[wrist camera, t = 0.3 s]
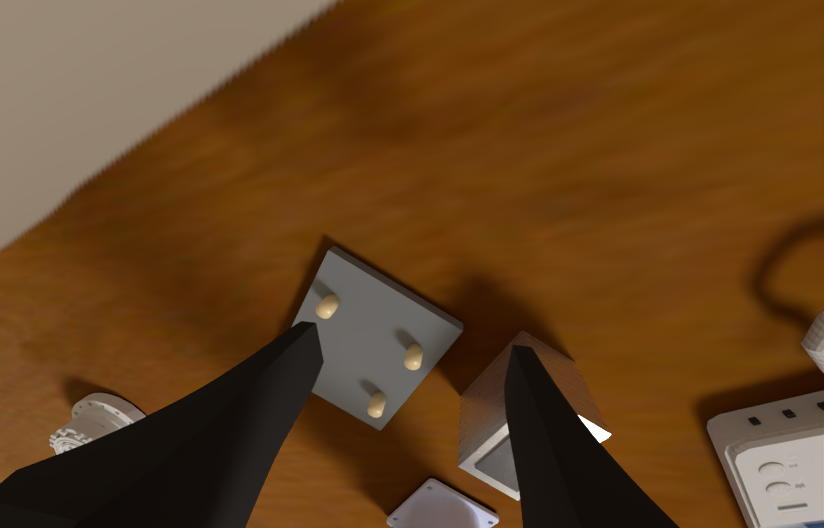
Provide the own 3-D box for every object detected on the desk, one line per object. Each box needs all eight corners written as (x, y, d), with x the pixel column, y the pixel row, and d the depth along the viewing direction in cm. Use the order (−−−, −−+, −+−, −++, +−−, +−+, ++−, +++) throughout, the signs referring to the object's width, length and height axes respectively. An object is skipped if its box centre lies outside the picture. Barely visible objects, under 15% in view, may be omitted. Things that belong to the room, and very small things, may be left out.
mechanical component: (90, 375, 33) (82, 423, 37) (37, 408, 29) (34, 457, 33) (170, 423, 33) (153, 464, 37) (129, 461, 29) (115, 503, 33)
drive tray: (383, 421, 27) (375, 446, 25) (277, 361, 27) (260, 381, 24) (463, 323, 22) (462, 344, 20) (334, 245, 21) (318, 257, 19)
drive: (506, 422, 25) (518, 503, 19) (460, 394, 25) (458, 468, 19) (574, 361, 22) (612, 437, 16) (522, 329, 21) (541, 394, 16)
